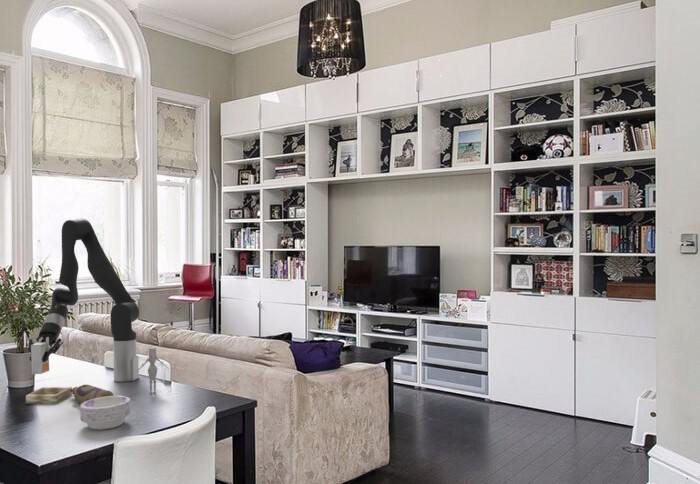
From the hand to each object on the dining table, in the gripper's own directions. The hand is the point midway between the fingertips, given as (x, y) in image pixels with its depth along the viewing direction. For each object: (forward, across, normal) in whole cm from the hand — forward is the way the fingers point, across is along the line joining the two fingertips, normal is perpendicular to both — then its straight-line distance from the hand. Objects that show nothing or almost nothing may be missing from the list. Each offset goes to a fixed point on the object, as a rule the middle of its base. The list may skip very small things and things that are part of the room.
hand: (37, 361), depth 238 cm
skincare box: (+2, 0, +5) cm, 6 cm away
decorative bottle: (+23, +32, -6) cm, 40 cm away
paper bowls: (+41, +48, -24) cm, 67 cm away
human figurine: (+15, +50, +3) cm, 52 cm away
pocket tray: (+19, +12, -3) cm, 23 cm away
